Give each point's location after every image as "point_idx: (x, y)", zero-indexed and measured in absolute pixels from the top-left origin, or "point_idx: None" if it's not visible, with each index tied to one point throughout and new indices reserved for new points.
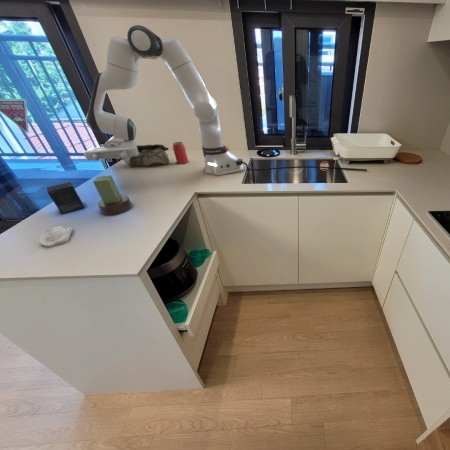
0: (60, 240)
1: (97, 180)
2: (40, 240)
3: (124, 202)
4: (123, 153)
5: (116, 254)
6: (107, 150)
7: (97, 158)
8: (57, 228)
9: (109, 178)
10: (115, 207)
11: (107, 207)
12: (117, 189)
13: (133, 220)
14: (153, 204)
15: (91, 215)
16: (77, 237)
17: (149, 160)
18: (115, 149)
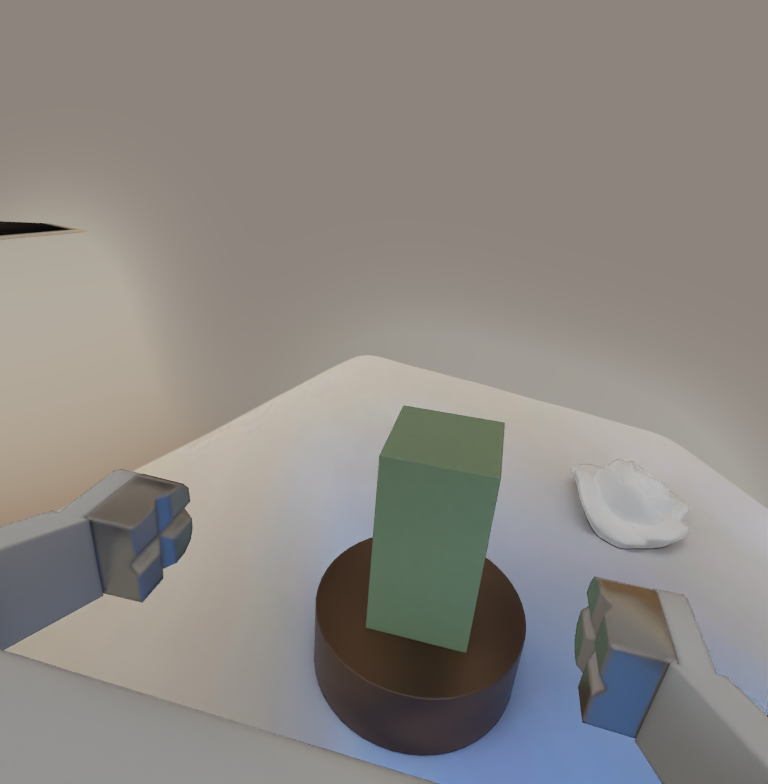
0: (587, 464)
1: (476, 424)
2: (673, 494)
3: (352, 548)
4: (41, 526)
5: (404, 391)
6: (336, 779)
7: (592, 636)
8: (622, 475)
9: (394, 425)
10: None
11: None
12: (371, 565)
13: (338, 495)
14: (192, 587)
15: (567, 648)
16: (548, 491)
17: None
18: (42, 710)
